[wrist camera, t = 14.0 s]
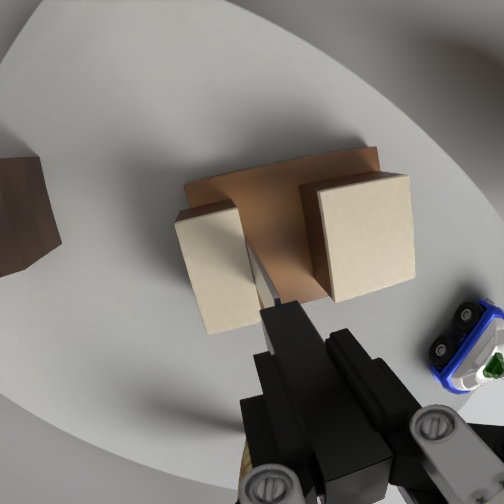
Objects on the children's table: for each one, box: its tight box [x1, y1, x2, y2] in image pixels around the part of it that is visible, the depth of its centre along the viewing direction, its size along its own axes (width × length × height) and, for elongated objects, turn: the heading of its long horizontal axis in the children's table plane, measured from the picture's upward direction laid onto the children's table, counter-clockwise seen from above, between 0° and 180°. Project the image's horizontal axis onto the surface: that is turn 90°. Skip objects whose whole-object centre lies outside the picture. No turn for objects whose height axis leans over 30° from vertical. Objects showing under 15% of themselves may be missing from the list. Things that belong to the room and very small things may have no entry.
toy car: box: [429, 298, 504, 395], centre depth 30 cm, size 9×12×10 cm
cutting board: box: [184, 147, 380, 309], centre depth 27 cm, size 12×16×2 cm
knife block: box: [0, 156, 62, 277], centre depth 20 cm, size 8×6×7 cm
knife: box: [244, 235, 394, 504], centre depth 14 cm, size 3×2×18 cm, turn 12°
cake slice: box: [174, 199, 261, 335], centre depth 23 cm, size 8×4×5 cm, turn 12°
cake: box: [299, 171, 415, 303], centre depth 24 cm, size 8×7×5 cm
